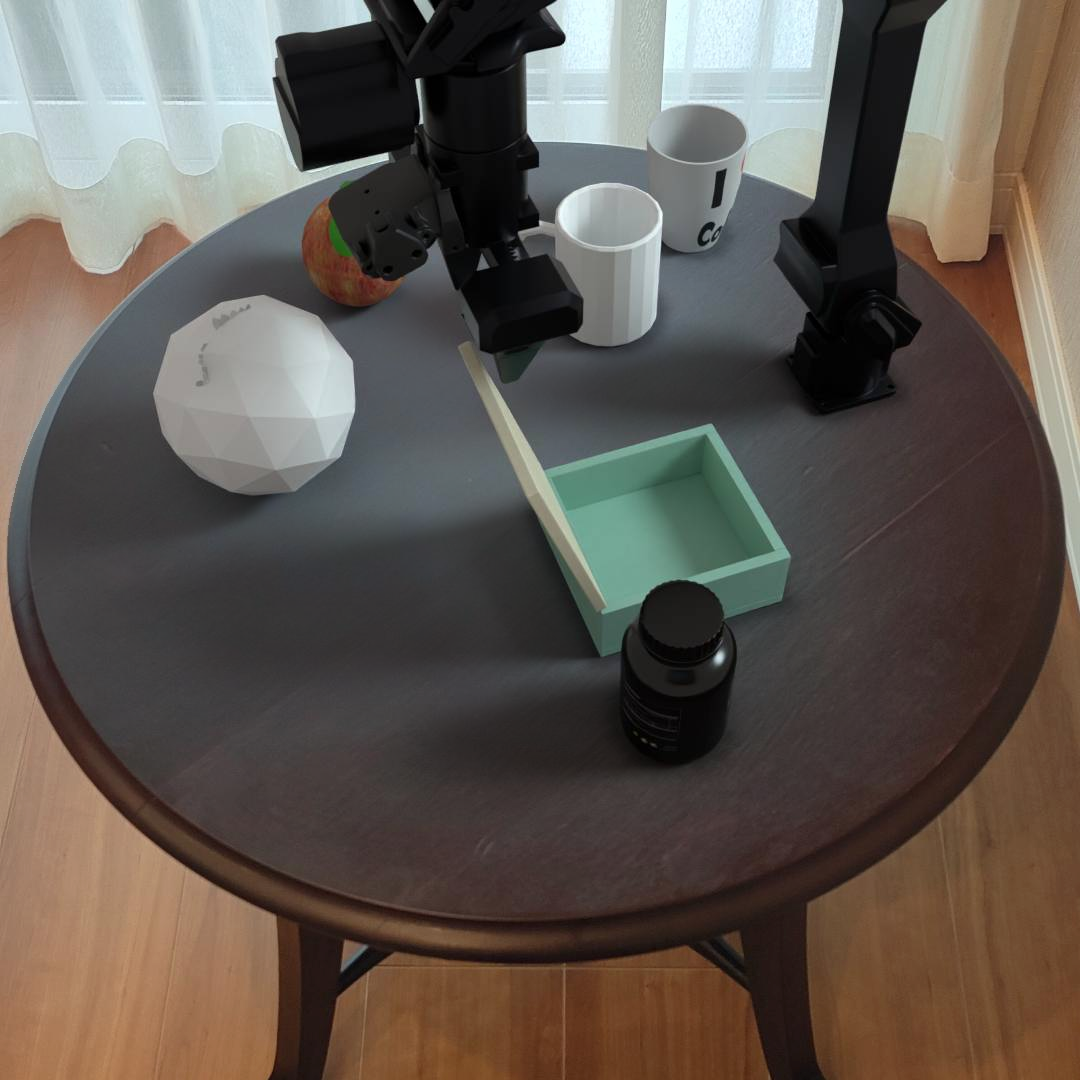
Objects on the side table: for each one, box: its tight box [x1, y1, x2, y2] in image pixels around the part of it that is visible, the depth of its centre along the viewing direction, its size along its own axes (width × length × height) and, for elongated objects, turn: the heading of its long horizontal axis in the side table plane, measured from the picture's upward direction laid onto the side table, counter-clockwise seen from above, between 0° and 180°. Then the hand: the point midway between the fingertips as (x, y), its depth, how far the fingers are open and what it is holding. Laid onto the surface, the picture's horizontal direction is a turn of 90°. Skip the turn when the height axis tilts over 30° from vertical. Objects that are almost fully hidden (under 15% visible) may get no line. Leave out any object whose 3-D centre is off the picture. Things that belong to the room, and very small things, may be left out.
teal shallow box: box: [537, 423, 792, 658], centre depth 89 cm, size 13×13×5 cm
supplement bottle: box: [619, 579, 738, 764], centre depth 79 cm, size 7×7×12 cm
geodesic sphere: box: [152, 294, 356, 496], centre depth 92 cm, size 15×14×14 cm
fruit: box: [301, 179, 406, 307], centre depth 105 cm, size 9×10×10 cm
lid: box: [458, 340, 607, 612], centre depth 80 cm, size 14×13×1 cm
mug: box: [518, 182, 663, 347], centre depth 103 cm, size 8×12×10 cm
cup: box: [645, 103, 750, 254], centre depth 109 cm, size 8×8×10 cm
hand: (485, 333), depth 85 cm, fingers open, 9 cm apart
